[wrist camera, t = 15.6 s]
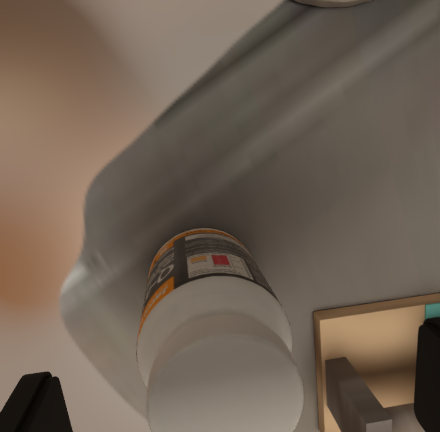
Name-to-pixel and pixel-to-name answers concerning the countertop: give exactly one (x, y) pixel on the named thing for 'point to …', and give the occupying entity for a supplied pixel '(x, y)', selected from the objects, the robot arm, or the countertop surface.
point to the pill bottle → (215, 341)
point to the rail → (370, 364)
